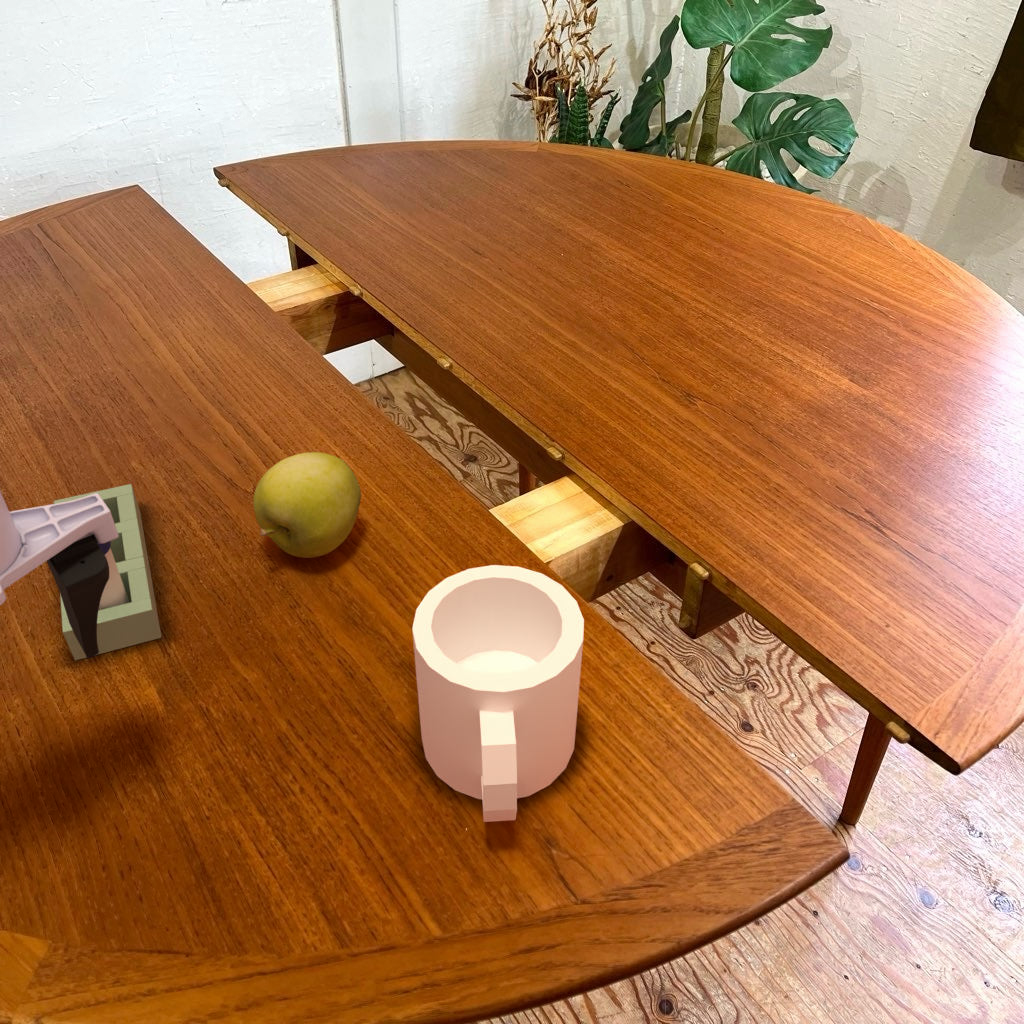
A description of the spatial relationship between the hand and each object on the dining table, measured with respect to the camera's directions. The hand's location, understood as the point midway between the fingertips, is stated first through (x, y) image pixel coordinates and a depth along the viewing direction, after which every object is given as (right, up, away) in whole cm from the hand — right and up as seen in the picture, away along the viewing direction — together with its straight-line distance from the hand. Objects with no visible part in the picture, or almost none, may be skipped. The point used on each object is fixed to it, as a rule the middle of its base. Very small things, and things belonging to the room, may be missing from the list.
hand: (19, 676), depth 54 cm
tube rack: (-4, +4, +21) cm, 21 cm away
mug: (+27, -6, +9) cm, 29 cm away
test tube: (-2, +1, +17) cm, 18 cm away
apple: (+12, +7, +24) cm, 28 cm away
